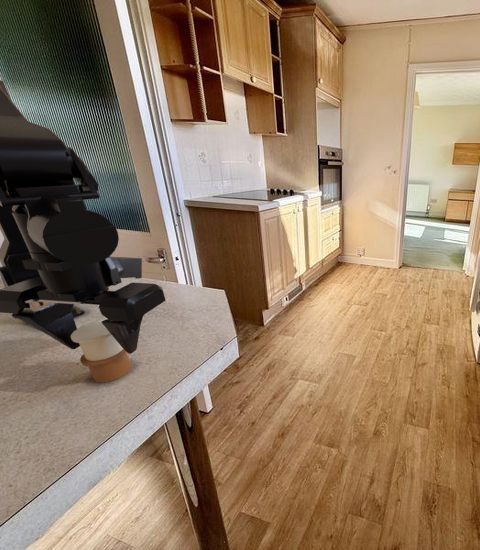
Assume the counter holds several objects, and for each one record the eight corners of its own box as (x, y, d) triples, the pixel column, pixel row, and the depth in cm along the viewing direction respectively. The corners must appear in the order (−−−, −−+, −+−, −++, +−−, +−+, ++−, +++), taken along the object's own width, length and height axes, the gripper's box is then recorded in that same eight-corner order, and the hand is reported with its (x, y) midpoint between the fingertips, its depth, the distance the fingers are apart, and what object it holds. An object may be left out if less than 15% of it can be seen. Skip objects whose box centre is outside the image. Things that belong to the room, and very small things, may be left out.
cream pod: (72, 356, 41) (62, 334, 39) (116, 336, 45) (108, 315, 44) (93, 368, 39) (83, 344, 37) (137, 346, 43) (129, 324, 42)
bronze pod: (81, 378, 42) (71, 357, 41) (123, 356, 47) (115, 337, 45) (102, 390, 40) (92, 368, 39) (143, 366, 45) (136, 346, 43)
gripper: (179, 233, 43) (200, 323, 49) (61, 228, 44) (96, 316, 50) (111, 258, 32) (149, 369, 38) (-40, 250, 33) (20, 358, 40)
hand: (104, 349), depth 42 cm, fingers open, 8 cm apart
